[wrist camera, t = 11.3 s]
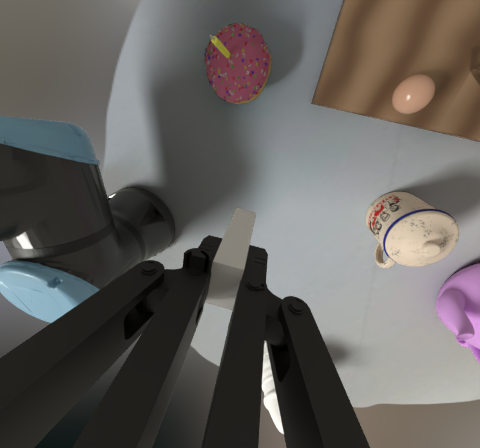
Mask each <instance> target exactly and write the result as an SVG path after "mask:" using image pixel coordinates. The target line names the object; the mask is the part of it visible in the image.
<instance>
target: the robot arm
mask: <svg viewBox="0 0 480 448" xmlns="http://www.w3.org/2000/svg"><path fill="white" fill-rule="evenodd" d="M98 164H100V163H99V160H97V159H96V156H95V153H94V150H93V147H92V144H91V141H90V138H89V136H88V134H87V133H86V131H85V130H84V129H82V128H81V127H80V126H78V125H76V124H73V123H68V122H59V121H49V120H39V119H28V118H18V117H7V116H0V241H3V242H4V244H5V246H6V248H7V249H8V251H9V253H10V255H11V257H12V261H8V262H6V263H4V264H2V266H1V267H0V292H1V293H2V294H3V296H4V297H6V298H7V299H8V300H9V301H10V302H11V303H12V304H14V305H15V306H16V307H18V308H20V309H21V310H23V311H24V312H26V313H28V314H30V315H32V316H34V317H36V318H38V319H41V320H44V321H47V322H50V323H51V324H50V325H48V326H47V327H45V328H44V329H42V330H41V331H39V332H38V333H36V334H35V335H33V336H32V337H31V338H29V339H28V340H26V341H25V342H23V343H22V344H20V345H19V346H17V347H16V348H15V349H13V350H12V351H10V352H9V353H7V354H6V355H4V356H3V357H2V358H0V448H34V447H35V446H36V445H37V444H38V443H39V442H40V441H41V440H42V439H43V438H44V436H45V435H46V434H47V433H48V432H49V431H50V430H51V429H52V428H53V427H54V426H55V425H56V424H57V423H58V422H59V421H60V420H61V419H62V417H63V416H64V415H65V414H66V413H67V412H68V411H69V410H70V409H71V408H72V407H73V406H74V405H75V404H76V403H77V402H78V401H79V399H80V398H81V397H82V396H83V395H84V394H85V393H86V392H87V391H88V390H89V389H90V388H91V387H92V385H94V384H95V382H96V381H97V380H98V379H99V378H100V377H101V376H102V375H103V374H104V373H105V372H106V371H107V370H108V369H109V368H110V367H111V366H112V365H113V364H114V362H115V361H116V360H117V359H118V358H119V357H120V356H121V355H122V354H123V353H124V352H125V351H126V350H127V349H128V347H130V345H131V344H132V343H133V342H134V341H135V340H136V339H137V338H138V337H139V336H140V335H141V334H142V335H141V336H140V338H139V340H138V341H137V343H136V345H135V346H134V348H133V349H132V351H131V353H130V354H129V356H128V358H127V359H126V361H125V363H124V364H123V366H122V367H121V369H120V371H119V372H118V374H117V376H116V377H115V379H114V380H113V382H112V384H111V386H110V387H109V389H108V390H107V392H106V394H105V395H104V397H103V398H102V400H101V402H100V404H99V405H98V407H97V408H96V410H95V412H94V413H93V415H92V417H91V418H90V420H89V421H88V423H87V425H86V426H85V428H84V430H83V431H82V433H81V435H80V436H79V438H78V439H77V441H76V443H75V445H74V446H73V448H152V446H153V443H154V440H155V437H156V435H157V432H158V430H159V427H160V424H161V422H162V419H163V416H164V414H165V411H166V408H167V406H168V403H169V400H170V397H171V395H172V392H173V389H174V387H175V384H176V381H177V378H178V376H179V373H180V371H181V368H182V365H183V363H184V360H185V357H186V355H187V352H188V349H189V346H190V344H191V341H192V339H193V336H194V333H195V331H196V328H197V325H198V322H199V320H200V317H201V314H202V312H203V307H204V303H208V304H212V305H216V306H219V307H223V308H227V309H231V310H233V312H232V315H231V319H230V323H229V326H228V332H227V336H226V341H225V345H224V349H223V354H222V358H221V362H220V367H219V371H218V375H217V380H216V384H215V388H214V392H213V397H212V401H211V405H210V410H209V414H208V418H207V423H206V427H205V431H204V436H203V440H202V444H201V448H258V439H259V423H260V406H261V390H262V373H263V357H264V340H266V344H267V349H268V354H269V360H270V365H271V370H272V375H273V380H274V385H275V390H276V396H277V401H278V406H279V411H280V416H281V421H282V426H283V432H284V437H285V442H286V447H287V448H370V447H369V444H368V442H367V440H366V437H365V435H364V433H363V430H362V428H361V426H360V423H359V421H358V419H357V417H356V414H355V412H354V410H353V407H352V405H351V403H350V400H349V398H348V396H347V393H346V391H345V389H344V387H343V384H342V382H341V380H340V377H339V375H338V373H337V370H336V368H335V366H334V363H333V361H332V359H331V357H330V354H329V352H328V350H327V347H326V345H325V343H324V340H323V338H322V336H321V333H320V331H319V329H318V327H317V324H316V322H315V320H314V317H313V315H312V313H311V310H310V308H309V307H308V305H307V304H306V303H305V302H304V301H303V300H301V299H299V298H297V297H293V296H289V297H285V298H284V299H283V300H282V299H281V298H279V297H277V296H275V295H274V294H272V293H271V292H270V291H269V289H268V288H267V285H266V272H267V258H268V254H267V252H266V250H265V249H263V248H259V247H255V246H251V245H250V240H251V236H252V231H253V226H254V221H255V217H256V213H255V212H251V211H247V210H243V209H239V208H236V209H235V212H234V214H233V216H232V219H231V221H230V223H229V226H228V228H227V230H226V232H225V235H224V237H223V239H222V238H218V237H214V236H210V235H209V236H207V237H206V238H204V239H203V241H202V242H201V244H200V246H199V247H198V248H193V249H189V250H187V251H186V252H185V253H184V260H183V267H182V268H181V269H174V270H171V269H164V266H163V264H161V263H160V262H158V261H154V260H147V259H149V258H151V257H153V256H156V255H158V254H160V253H161V252H163V251H164V250H165V249H166V248H167V247H168V245H169V244H170V243H171V241H172V240H173V237H174V233H175V225H174V220H173V217H172V215H171V213H170V211H169V209H168V208H167V206H166V205H165V204H164V203H163V202H162V201H161V200H160V199H159V198H158V197H156V196H155V195H153V194H152V193H150V192H148V191H145V190H142V189H138V188H125V189H122V190H119V191H117V192H115V193H113V194H111V195H110V196H109V197H107V195H106V191H105V187H104V184H103V180H102V176H101V173H100V169H99V166H98ZM145 260H147V261H145ZM205 300H206V302H205Z"/></svg>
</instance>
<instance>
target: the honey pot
mask: <svg viewBox="0 0 480 448" xmlns="http://www.w3.org/2000/svg"><path fill="white" fill-rule="evenodd" d="M262 389H263V391H264V395H265V398H264V405H265V406H266V408H267V409H268V410H269V412H270V414H271V417H272V419H273V421H274V423H275V425H276V427H277V428H278V430H279V431H280V432H281V433H282V434H284V432H283V426H282V421H281V416H280V411H279V406H278V401H277V396H276V390H275V385H274V380H273V375H272V370H271V365H270V360H269V354H268V349H267V344H266V343H264V357H263V373H262Z"/></svg>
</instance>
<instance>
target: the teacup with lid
mask: <svg viewBox="0 0 480 448" xmlns="http://www.w3.org/2000/svg"><path fill="white" fill-rule="evenodd" d="M366 224H367V227H368V228H369V230H370V231H371V232H372V234H373V235H374V236H375V237H376V239H377V240H378V241H379V243H378V245H377V247H376V249H375V261H376V263H377V264H378V265H379V266H380V267H383V268H389V267H391V266H393V265H394V264H395V263H396V262H397V263H399V264H402V265H406V266H424V265H428V264H432V263H434V262H437V261H439V260H441V259H442V258H444V257H445V256H446V255H448V254H449V253H450V252H451V251H452V250H453V248H454V247H455V245H456V244H457V241H458V238H459V228H458V225H457V223H456V221H455V220H454V218H453V217H452V216H450V215H449V214H448V213H446V212H444V211H441V210H437V209H435V208H434V207H432V206H430V205H429V204H427V203H425V202H424V201H422V200H421V199H419V198H417V197H416V196H414V195H412V194H410V193H407V192H392V193H388V194H385V195H383V196H381V197H380V198H378V199H377V200H375V201H374V202H373V203H372V204H371V206H370V207H369V209H368V211H367V214H366ZM383 251H385V253H386V254H387V256H388V257H389V258H388V259H387V260H386V261H385V262H384V261H383Z"/></svg>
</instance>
